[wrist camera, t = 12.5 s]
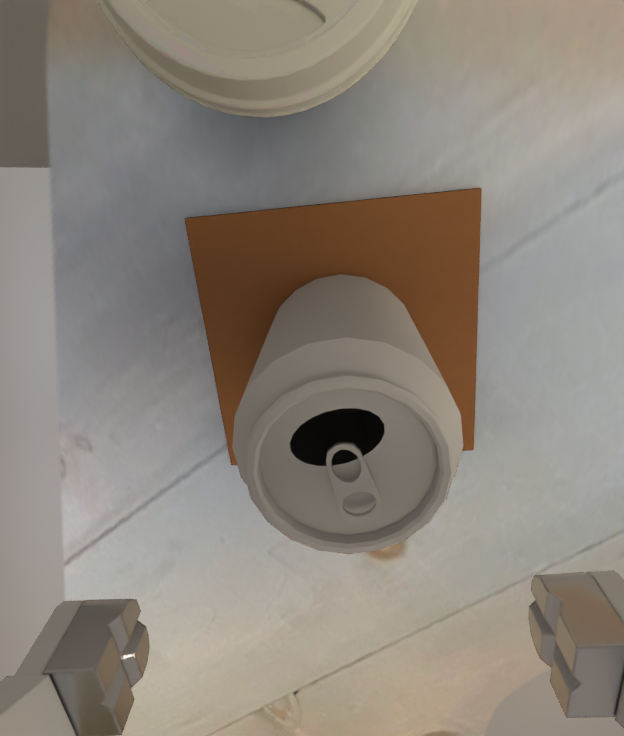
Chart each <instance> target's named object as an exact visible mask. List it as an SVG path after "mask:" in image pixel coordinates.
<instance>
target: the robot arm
mask: <svg viewBox="0 0 624 736" xmlns="http://www.w3.org/2000/svg"><path fill="white" fill-rule="evenodd" d="M531 591H532V593H533V595H534V597H535V599H536V600H535V601H534V602H533V603H532V604H531V605H530V606H529V625H530V632H531V636H532V639H533V642H534V646H535V648H536V650H537V653H538V655H539V657H540V659H541V660H542V661H544V662H545V663H546V664H547V665H549V666H550V667H551V677H550V682H551V685H552V687H553V689H554V691H555V694H556V696H557V698H558V700H559V703H560V705H561V707H562V709H563V711H564V713H565V716H566V717H567V718H568V717H569V718H571V717H616V718H615V720H616V721H617V722H618V723H619V724H620V725H621V726H622V727H623V728H624V580H623V579H622V577H621V576H620V575H619V574H618V573H617V572H615V571H614V570H611V571H595V572H586V573H585V572H576V573H562V574H547V575H535V576H534V577H533V579H532V584H531ZM140 612H141V610H140V607H139V605H138V602H137V600H136V599H105V600H83V601H64V602H62V603H61V604H60V605H59V606H57V607H56V609H55V610H54V612H53V614H52V615H51V617H50V618H49V620H48V622H47V623H46V625H45V627H44V628H43V630H42V632H41V633H40V635H39V636H38V638H37V640H36V641H35V643H34V644H33V646H32V648H31V649H30V651H29V653H28V654H27V656H26V658H25V659H24V661H23V662H22V664H21V666H20V667H19V669H18V671H17V672H16V674H15V675H14V676H7V677H6V678H4V679H3V680H2V681H0V736H114V735H122V732H123V730H124V727H125V724H126V721H127V719H128V716H129V713H130V710H131V707H132V705H133V702H134V696H133V693H132V690H131V688H132V687H133V686H134V685H135V684H136V683H137V682H138V681H139V680H140V679H141V678H142V677H143V674H144V671H145V668H146V665H147V661H148V654H149V635H148V632H147V628H146V626H144V625H143V624H142V623H141V622H139V621H138V617H139V615H140Z"/></svg>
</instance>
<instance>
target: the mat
mask: <svg viewBox="0 0 624 736" xmlns="http://www.w3.org/2000/svg"><path fill="white" fill-rule="evenodd" d="M480 221H481V188H474V189H464V190H454V191H444V192H435V193H425V194H415V195H405V196H395V197H386V198H376V199H366V200H356V201H347V202H337V203H327V204H317V205H308V206H298V207H288V208H278V209H268V210H259V211H249V212H239V213H229V214H220V215H210V216H200V217H190V218H185V224H186V229H187V235H188V240H189V245H190V250H191V256H192V261H193V266H194V271H195V277H196V282H197V287H198V292H199V298H200V303H201V308H202V313H203V319H204V324H205V329H206V334H207V340H208V345H209V350H210V355H211V360H212V366H213V371H214V376H215V381H216V387H217V392H218V397H219V402H220V408H221V413H222V418H223V423H224V429H225V434H226V439H227V444H228V450H229V455H230V460H231V465H237V462H236V458H235V455H234V451H233V448H232V446H233V432H234V418H235V414H236V412H237V409H238V407H239V404H240V402H241V399H242V397H243V394H244V392H245V389H246V387H247V384H248V382H249V379H250V377H251V374H252V372H253V369H254V367H255V364H256V362H257V359H258V357H259V354H260V352H261V349H262V347H263V345H264V342H265V340H266V337H267V335H268V332H269V330H270V327H271V325H272V323H273V321H274V318H275V316H276V314H277V312H278V310H279V307H280V306H281V305H282V304H283V303H284V302H285V301H286V300H287V299H288V298H289V297H290V296H291V295H292V294H293V292H294V291H295V290H297V289H299V288H301V287H302V286H304V285H306V284H308V283H310V282H312V281H313V280H315V279H318V278H323V277H329V276H334V275H340V274H343V275H351V276H358V277H366V278H368V279H370V280H372V281H374V282H376V283H378V284H380V285H382V286H384V287H386V288H388V289H389V290H390V291H391V292H392V293H393V294H394V295H395V296H396V297H397V298H398V299H399V300H400V301H401V302H402V303H403V304H404V305H405V307H406V309H407V311H408V313H409V315H410V317H411V319H412V320H413V322H414V324H415V326H416V328H417V330H418V332H419V334H420V336H421V338H422V339H423V341H424V343H425V345H426V347H427V349H428V351H429V353H430V355H431V357H432V358H433V360H434V362H435V364H436V366H437V368H438V370H439V372H440V374H441V375H442V377H443V379H444V381H445V383H446V385H447V387H448V389H449V391H450V393H451V395H452V397H453V399H454V401H455V403H456V405H457V407H458V409H459V412H460V414H461V424H462V435H463V449H462V451H465V450H473V449H474V418H475V385H476V352H477V319H478V286H479V253H480Z"/></svg>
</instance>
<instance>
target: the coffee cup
mask: <svg viewBox="0 0 624 736" xmlns="http://www.w3.org/2000/svg"><path fill="white" fill-rule="evenodd" d="M97 2H98V4H99V6H100V8H101V9H102V11H103V12H104V14H105V16H106V17H107V19H108V20H109V21H110V23H111V24H112V26H113V27H114V29H115V30H116V32H117V33H118V34H119V36H120V37H121V38H122V40H123V41H124V42H125V44H126V45H127V46H128V47H129V49H130V50H131V51H132V52H133V53H134V55H135V56H136V57H137V58H138V59H139V60H140V61H141V62H142V63H143V64H144V65H145V66H146V67H147V68H148V69H149V70H150V71H151V72H152V73H153V74H154V75H155V76H157V77H158V78H159V79H160V80H161V81H163V82H164V83H165V84H167V85H168V86H169V87H171V88H172V89H174V90H175V91H177V92H178V93H180V94H182V95H183V96H185V97H187V98H189V99H191V100H193V101H195V102H197V103H199V104H201V105H203V106H206V107H208V108H211V109H214V110H217V111H221V112H224V113H228V114H233V115H239V116H246V117H276V116H283V115H289V114H294V113H298V112H301V111H304V110H308V109H310V108H313V107H316V106H318V105H320V104H323V103H325V102H327V101H329V100H331V99H332V98H334V97H336V96H338V95H339V94H341V93H342V92H344V91H345V90H347V89H348V88H350V87H351V86H352V85H354V84H355V83H356V82H358V81H359V80H360V79H361V78H362V77H363V76H365V75H366V74H367V73H368V72H369V71H370V70H371V69H372V68H373V67H374V66H375V65H376V64H377V63H378V62H379V61H380V59H381V58H382V57H383V56H384V55H385V54H386V52H387V51H388V50H389V49H390V47H391V46H392V45H393V43H394V42H395V40H396V39H397V37H398V36H399V34H400V33H401V31H402V30H403V28H404V26H405V25H406V23H407V21H408V19H409V18H410V16H411V14H412V12H413V10H414V8H415V6H416V4H417V2H418V0H97Z"/></svg>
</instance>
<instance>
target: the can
mask: <svg viewBox="0 0 624 736" xmlns="http://www.w3.org/2000/svg"><path fill="white" fill-rule="evenodd" d="M232 448H233V451H234V455H235V458H236V462H237V465H238V468H239V472H240V475H241V478H242V479H243V481H244V482H245V483H246V485H247V486H248V489H249V493H250V496H251V499H252V501H253V502H254V503H255V505H256V506H257V508H258V509H259V510H260V512H261V513H262V515H263V516H264V517H265V519H266V520H267V522H269V523H270V524H271V525H273V526H274V527H275V528H276V529H278V530H279V531H280V532H282V533H283V534H284V535H286V536H287V537H288V538H290V539H291V540H294V541H296V542H299V543H301V544H304V545H306V546H309V547H311V548H314V549H317V550H321V551H329V552H337V553H344V554H352V553H361V552H369V551H378V550H381V549H383V548H386V547H388V546H391V545H394V544H396V543H399V542H401V541H404V540H406V539H408V538H409V537H410V536H412V535H413V534H414V533H416V532H417V531H418V530H420V529H421V528H422V527H424V526H425V525H426V524H428V523H429V522H430V521H431V520H432V518H433V517H434V515H435V514H436V513H437V511H438V510H439V508H440V507H441V506H442V504H443V503H444V501H445V500H446V499H447V495H448V491H449V488H450V484H451V481H452V480H453V478H454V477H455V474H456V470H457V467H458V463H459V460H460V456H461V453H462V449H463V435H462V424H461V414H460V412H459V409H458V407H457V405H456V403H455V401H454V399H453V397H452V395H451V393H450V391H449V389H448V387H447V385H446V383H445V381H444V379H443V377H442V375H441V374H440V372H439V370H438V368H437V366H436V364H435V362H434V360H433V358H432V357H431V355H430V353H429V351H428V349H427V347H426V345H425V343H424V341H423V339H422V338H421V336H420V334H419V332H418V330H417V328H416V326H415V324H414V322H413V320H412V319H411V317H410V315H409V313H408V311H407V309H406V307H405V305H404V304H403V303H402V302H401V301H400V300H399V299H398V298H397V297H396V296H395V295H394V294H393V293H392V292H391V291H390V290H389V289H388V288H386V287H384V286H382V285H380V284H378V283H376V282H374V281H372V280H370V279H368V278H366V277H358V276H351V275H343V274H340V275H334V276H329V277H323V278H318V279H315V280H313V281H312V282H310V283H308V284H306V285H304V286H302V287H301V288H299V289H297V290H295V291H294V292H293V294H292V295H291V296H290V297H289V298H288V299H287V300H286V301H285V302H284V303H283V304H282V305H281V306H280V307H279V310H278V312H277V314H276V316H275V318H274V321H273V323H272V325H271V327H270V330H269V332H268V335H267V337H266V340H265V342H264V345H263V347H262V349H261V352H260V354H259V357H258V359H257V362H256V364H255V367H254V369H253V372H252V374H251V377H250V379H249V382H248V384H247V387H246V389H245V392H244V394H243V397H242V399H241V402H240V404H239V407H238V409H237V412H236V414H235V418H234V432H233V446H232Z"/></svg>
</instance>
